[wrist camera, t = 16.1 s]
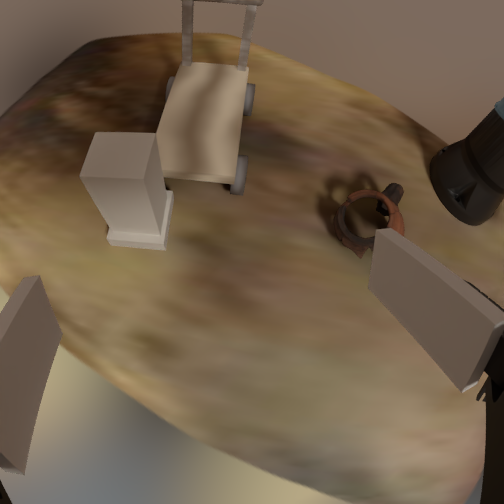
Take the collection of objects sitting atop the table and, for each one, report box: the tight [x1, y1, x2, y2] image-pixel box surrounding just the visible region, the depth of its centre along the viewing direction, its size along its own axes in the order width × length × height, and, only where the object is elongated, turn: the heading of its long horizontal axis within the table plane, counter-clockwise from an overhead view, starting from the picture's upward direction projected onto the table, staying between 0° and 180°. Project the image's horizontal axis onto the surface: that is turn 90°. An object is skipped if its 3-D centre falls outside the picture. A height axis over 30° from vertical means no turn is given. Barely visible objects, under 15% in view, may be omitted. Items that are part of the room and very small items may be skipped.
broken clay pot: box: [334, 183, 404, 258], centre depth 40 cm, size 12×10×8 cm
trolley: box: [156, 0, 264, 195], centre depth 35 cm, size 13×20×19 cm, turn 176°
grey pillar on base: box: [79, 132, 174, 250], centre depth 32 cm, size 7×7×14 cm
